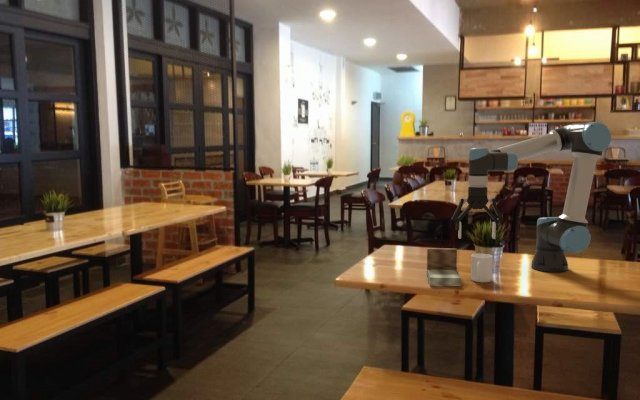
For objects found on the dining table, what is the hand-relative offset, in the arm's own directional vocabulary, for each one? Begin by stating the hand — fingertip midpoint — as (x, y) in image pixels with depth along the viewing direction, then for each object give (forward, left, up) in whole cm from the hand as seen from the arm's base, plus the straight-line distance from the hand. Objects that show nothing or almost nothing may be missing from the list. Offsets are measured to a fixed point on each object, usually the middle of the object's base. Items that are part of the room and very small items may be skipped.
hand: (476, 238), depth 230 cm
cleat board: (+13, +3, -17) cm, 22 cm away
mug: (-2, +1, -18) cm, 18 cm away
